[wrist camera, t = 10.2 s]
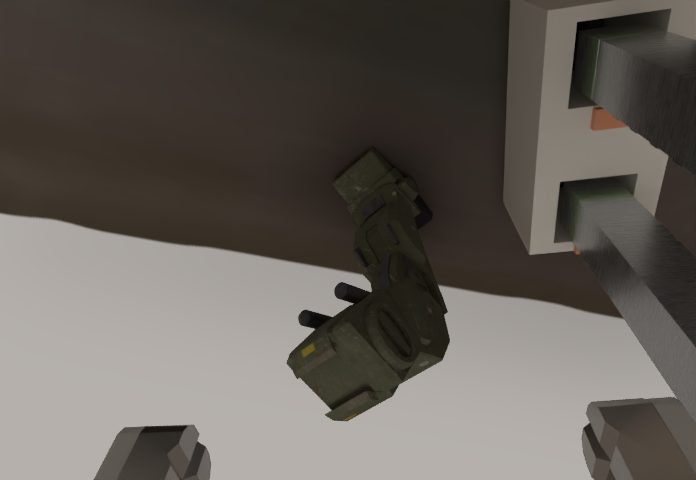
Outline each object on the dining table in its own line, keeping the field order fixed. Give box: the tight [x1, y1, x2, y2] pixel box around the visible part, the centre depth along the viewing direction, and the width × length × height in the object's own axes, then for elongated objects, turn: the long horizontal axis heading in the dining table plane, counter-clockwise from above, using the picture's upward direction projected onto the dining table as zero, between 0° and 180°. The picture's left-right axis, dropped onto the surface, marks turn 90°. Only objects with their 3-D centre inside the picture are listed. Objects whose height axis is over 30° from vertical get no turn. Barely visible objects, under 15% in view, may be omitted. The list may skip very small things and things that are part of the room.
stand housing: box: [503, 0, 696, 255], centre depth 40 cm, size 20×10×11 cm, turn 8°
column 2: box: [560, 177, 696, 423], centre depth 32 cm, size 4×4×22 cm
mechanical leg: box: [287, 148, 450, 421], centre depth 38 cm, size 14×7×30 cm, turn 43°
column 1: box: [573, 22, 696, 175], centre depth 26 cm, size 4×4×22 cm
